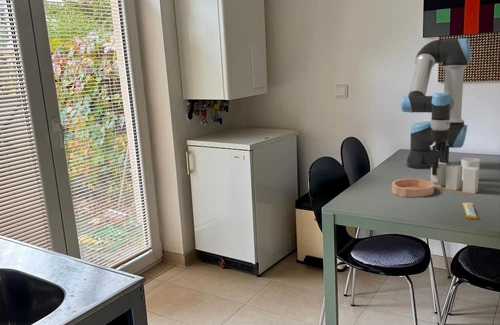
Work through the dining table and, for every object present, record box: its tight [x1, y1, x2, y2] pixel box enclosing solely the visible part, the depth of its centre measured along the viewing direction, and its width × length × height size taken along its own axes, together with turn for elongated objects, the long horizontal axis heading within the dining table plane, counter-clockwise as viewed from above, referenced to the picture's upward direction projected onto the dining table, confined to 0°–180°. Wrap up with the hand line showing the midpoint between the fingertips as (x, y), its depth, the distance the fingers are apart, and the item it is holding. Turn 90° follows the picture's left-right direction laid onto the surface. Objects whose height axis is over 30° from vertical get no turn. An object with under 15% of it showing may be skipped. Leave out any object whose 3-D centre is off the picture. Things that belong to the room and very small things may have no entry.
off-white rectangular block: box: [446, 163, 463, 190], centre depth 197 cm, size 4×5×10 cm
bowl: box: [391, 178, 435, 199], centre depth 197 cm, size 17×17×4 cm
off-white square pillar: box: [462, 167, 480, 194], centre depth 192 cm, size 4×5×10 cm
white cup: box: [460, 157, 481, 181], centre depth 210 cm, size 8×8×10 cm
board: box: [434, 185, 483, 196], centre depth 198 cm, size 12×19×1 cm, turn 38°
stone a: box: [430, 161, 448, 187], centre depth 203 cm, size 4×5×10 cm
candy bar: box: [461, 202, 479, 220], centre depth 170 cm, size 17×4×2 cm, turn 161°
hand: (438, 180), depth 204 cm, fingers closed on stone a, 4 cm apart
